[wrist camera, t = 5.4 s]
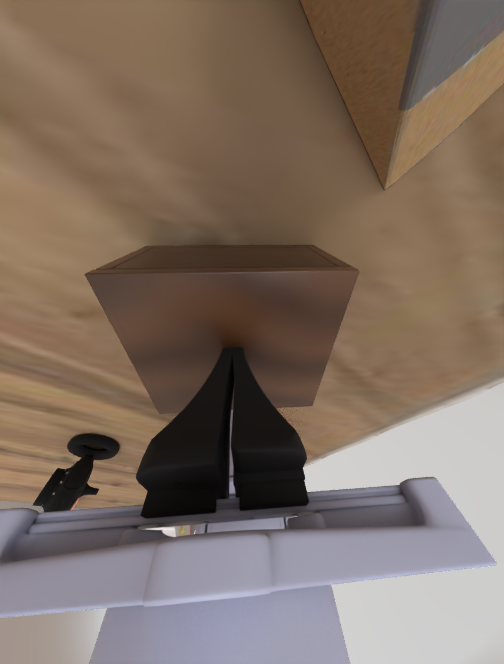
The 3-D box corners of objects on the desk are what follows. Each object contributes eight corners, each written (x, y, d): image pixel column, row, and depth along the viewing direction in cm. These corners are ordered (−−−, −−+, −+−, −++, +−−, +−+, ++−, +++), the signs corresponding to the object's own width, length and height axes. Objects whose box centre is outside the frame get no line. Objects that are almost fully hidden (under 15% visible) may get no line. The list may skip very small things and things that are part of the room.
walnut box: (294, 350, 22) (311, 395, 17) (179, 354, 21) (160, 402, 16) (313, 244, 15) (352, 266, 10) (146, 245, 14) (93, 268, 9)
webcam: (76, 428, 29) (12, 517, 20) (126, 440, 32) (87, 521, 23) (67, 447, 32) (7, 530, 24) (112, 456, 35) (74, 533, 27)
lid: (309, 399, 17) (312, 406, 16) (161, 406, 16) (159, 414, 16) (353, 266, 10) (360, 270, 9) (93, 269, 9) (83, 273, 9)
